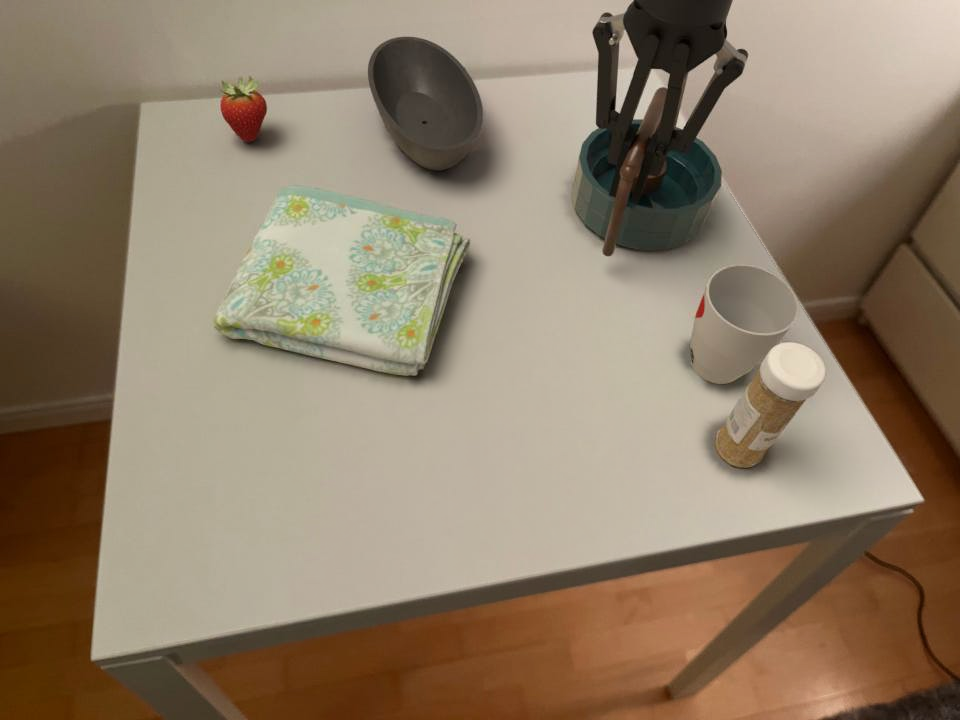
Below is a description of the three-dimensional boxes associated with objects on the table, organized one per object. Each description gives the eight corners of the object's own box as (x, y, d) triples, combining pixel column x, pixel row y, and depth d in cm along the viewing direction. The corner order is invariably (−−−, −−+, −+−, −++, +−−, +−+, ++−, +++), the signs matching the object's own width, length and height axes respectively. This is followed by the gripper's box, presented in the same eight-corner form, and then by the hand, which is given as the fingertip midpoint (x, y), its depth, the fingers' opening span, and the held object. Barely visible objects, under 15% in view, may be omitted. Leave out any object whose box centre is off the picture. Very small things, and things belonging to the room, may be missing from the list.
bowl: (444, 74, 98) (445, 30, 93) (500, 183, 86) (505, 139, 81) (355, 87, 95) (351, 43, 90) (400, 202, 84) (398, 158, 78)
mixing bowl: (731, 234, 84) (749, 194, 79) (611, 268, 80) (623, 228, 75) (660, 149, 92) (673, 108, 87) (548, 176, 88) (555, 135, 83)
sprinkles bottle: (758, 476, 66) (825, 396, 55) (708, 458, 67) (764, 376, 56) (765, 435, 69) (830, 350, 58) (717, 418, 69) (772, 332, 58)
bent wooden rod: (628, 267, 76) (655, 178, 67) (581, 252, 77) (600, 162, 68) (666, 172, 85) (694, 81, 76) (623, 159, 86) (645, 68, 77)
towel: (428, 387, 69) (428, 355, 65) (215, 339, 71) (201, 306, 67) (471, 250, 80) (474, 216, 76) (285, 212, 82) (277, 176, 77)
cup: (708, 318, 76) (741, 250, 68) (773, 367, 73) (816, 302, 65) (658, 359, 73) (688, 293, 65) (724, 412, 70) (764, 350, 62)
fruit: (270, 123, 90) (258, 64, 84) (275, 151, 87) (263, 92, 81) (227, 128, 89) (211, 68, 83) (231, 156, 86) (215, 97, 80)
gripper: (798, -44, 57) (704, 190, 76) (616, -88, 59) (570, 149, 78) (784, 3, 52) (688, 238, 72) (589, -47, 55) (547, 192, 74)
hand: (626, 191), depth 75 cm, fingers closed on bent wooden rod, 2 cm apart
